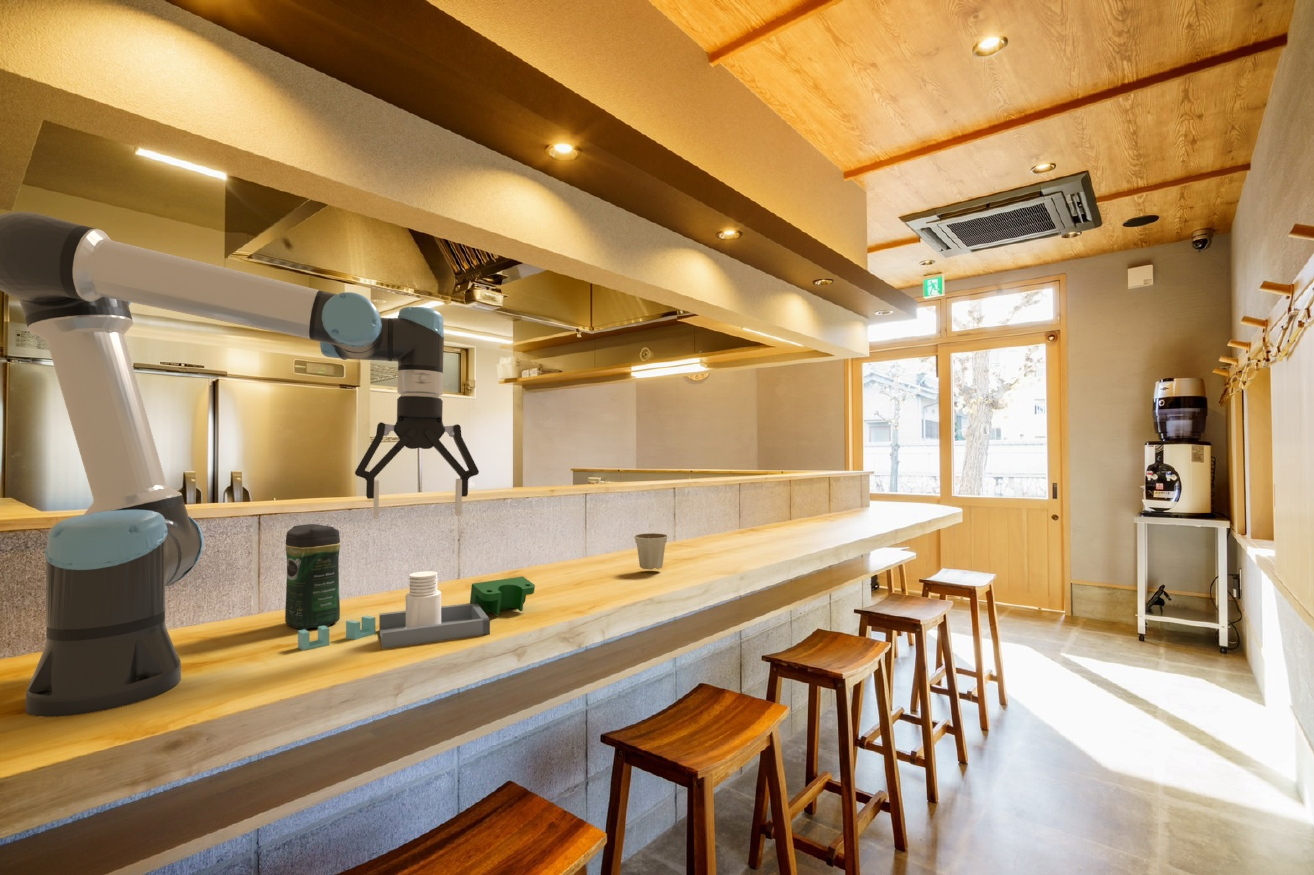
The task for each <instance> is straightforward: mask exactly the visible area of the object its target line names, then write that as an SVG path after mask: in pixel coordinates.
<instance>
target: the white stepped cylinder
mask: <svg viewBox="0 0 1314 875" xmlns="http://www.w3.org/2000/svg"><path fill="white" fill-rule="evenodd" d="M408 576H409V580H408V581H409V592H408V593H406V594H405V611H406V627H405V628H411V627H419V626H427V625H435V624H441V606H442V591H441V590H438V588H439V587H438V581H439V580H438V571H434V570H433V571H432V570H430V571H428V570H426V571H415V572H412V573H410V574H409V575H408Z"/></svg>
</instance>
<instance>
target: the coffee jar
mask: <svg viewBox="0 0 1314 875" xmlns="http://www.w3.org/2000/svg"><path fill="white" fill-rule="evenodd" d="M340 542H341V538H340V530H338V528H335V527H334V526H330V525H323V524H317V523H316V524H315V523H308V524H307V523H306V524H298V525H293V527H292V528H290V529H289V530H288V531H287V532H286V536H285V553H286V583H285V584H286V586H285V587H286V591H285V608H284V610H285V612H284V617H285V618H284V621H285V624H287V625H288V626H290V627H292V628H296V629H299V630H304V629H305V630H307V629H313V628H316V629H318V627H319V626H326V627H328V626H330V625H332V624H335V623H337V622H338V621H340V618H341V615H340V614H341V607H340V606H341V605H340V602H341V601H340V575H339V574H340V571H339V570H340V566H339V562H340V560H339V559H340V558H339V556H340V548H341V543H340Z"/></svg>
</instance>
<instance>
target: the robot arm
mask: <svg viewBox="0 0 1314 875" xmlns="http://www.w3.org/2000/svg"><path fill="white" fill-rule="evenodd" d="M0 291H1V292H3V293H5V294H7V295H10V296H11V297H14V298H16V299H18V300H19V302H20V306H21V310H22V313H23V317H24V319H25V320H24V321H25V324H26V328H27V330H28V332H29V333H31V334H33V335H35V336H37V337H39V338H41V339H43V340H44V341H46V343H47V347H48V349H49V353H50V357H51V360H52V363H53V367H54V370H55V373H56V376H57V380H58V383H59V387H60V390H61V394H62V397H63V401H64V404H65V408H66V411H67V414H68V417H69V421H70V424H71V427H72V431H73V435H74V437H75V441H76V444H77V449H78V452H79V455H80V459H81V461H82V465H83V469H84V473H85V475H86V479H87V482H88V486H89V489H90V493H91V496H92V499H93V500H92V504H91V505H89V507H88V509H86V511H85V512H84V514H80V515H76V516H72V517H69V518H65V519H63V520H61V521H59V522H57V523H55V524H54V525H53V526H52V527H51V528H50V530H49V532H48V534H47V545H46V547H45V550H44V555H45V556H44V557H45V561H46V562H45V563H46V564H45V565H46V567H45V568H46V570H45V572H46V574H45V575H46V577H45V579H46V582H45V583H46V585H45V586H46V591H45V596H46V598H45V599H46V606H45V608H46V616H45V617H46V618H45V619H46V620H45V622H46V626H45V627H46V630H45V632H46V636H45V637H46V641H45V647H44V649H43V651H42V654H41V656H40V659H39V660H38V664H37V666H36V668H35V670H34V672H33V675H32V677H31V678H30V682H29V685H28V687H27V689H26V692H25V713H27V714H28V715H30V714H31V715H30V716H32V715H35V716H34V717H39V716H41V718H42V716H43V718H53V717H54V718H55V717H56V718H58V717H71V716H77V715H78V716H79V715H84V714H85V715H86V714H92V713H97V712H104V711H108V709H109V710H113V709H119V708H122V707H126V706H130V705H132V704H136V703H140V702H143V701H146V700H149V699H151V698H154V697H156V696H159V695H161V694H163V693H165V692H167V691H169V690H172V689H173V688H175V687H176V686H177V685H178V684H179V683H180V682H181V680H182V663H181V660H180V657H179V655H178V653H177V650H176V647H175V646H174V643H173V641H172V638H171V636H170V634H169V632H168V629H167V626H166V587H170V586H172V585H174V584H175V583H177V582H179V581H180V580H181V579H183V578H184V577H186V576H187V575H188V574H190V572H191V571H192V570H193V568H195V566H196V565H197V563H198V562H199V560H200V558H201V556H202V553H203V551H204V545H205V541H204V540H205V539H204V534H203V533H204V532H203V531H202V529H201V527H200V525H199V523H198V522H196V520H194V519H193V518H192V517H191V516H189V514H188V511H187V508H186V505H185V501H184V497H183V494H182V492H180V491H178V490H176V489H173V488H171V487H170V486H169V485H167V481H166V478H165V475H164V471H163V468H162V465H161V461H160V457H159V453H158V450H157V446H156V444H155V443H156V442H155V439H154V435H153V432H152V428H151V425H150V422H149V418H148V414H147V410H146V409H145V404H144V400H143V398H142V395H141V394H142V393H141V391H140V390H141V389H140V387H139V384H138V380H137V377H136V372H135V369H134V367H133V366H134V365H133V362H132V359H131V356H130V352H129V349H128V345H127V340H126V338H125V334H126V333H127V332H128V331H129V330H130V328H131V327H132V326H133V325H134V320H133V317H132V313H131V310H130V307H129V306H130V305H131V303H133V304H138V305H143V306H146V307H151V308H152V307H153V308H155V309H156V308H157V309H162V310H167V311H171V312H177V313H180V314H181V313H182V314H185V315H189V316H190V315H191V316H196V317H201V318H205V319H211V320H215V321H221V322H226V323H230V324H235V325H239V326H243V327H245V326H246V327H248V328H255V329H261V330H263V331H268V332H273V333H278V334H285V335H289V336H294V337H298V338H303V339H308V340H311V341H316V342H319V347H320V352H321V354H322V355H323V356H324V357H327V358H333V359H334V358H335V359H341V360H343V361H345V360H346V361H347V360H364V361H379V362H380V361H381V362H383V361H385V362H397V390H396V392H397V393H398V394H399V395H400V396H398V398H397V400H396V403H397V404H396V421H395V424H389V423H384V422H383V421H382V422H378V424H377V427H376V433H375V434H376V435H375V436H374V438H373V439H372V442H371V443H370V445H369V447H368V448H367V450H366V452H365V454H364V455H363V457H362V459H361V461H360V463H359V464H358V466H357V468H356V469H355V471H354V474H355V475H356V477H360V478H362V479H364V480H365V481H366V486H365V487H366V490H365V492H366V494H365V496H366V498H367V500H368V499H369V500H372V499H373V503H372V504H373V505H372V506H373V510H372V511H373V514H372V515H373V517H372V518H373V520H377V519H378V520H379V506H380V505H379V504H380V503H379V499H380V498H379V497H380V496H379V495H380V493H379V492H380V480H379V479H375V478H376V476H378V475H379V473H381V471H383V470H384V469H385V468H386V467H387V465H388V464H389V463H390V462H391V461H392V460H393V459H394V458H395V457H396V456H397V455H398V454H399V452H400V451H402V450H403V449H404V448H405V447H406V448H407V449H409V450H413V449H414V450H416V449H421V450H422V449H423V450H430V449H432V448H434V449H435V450H436V451H437V452H438V453H439V454H440V456H441V457H442V458H443V459H444V460H445V461H446V463H448V465H449V466H450V467H451V468H452V469H453V470H454V471H455V473H456V474H457V475H458V476H459V478H455V498H454V500H455V503H454V510H455V511H454V512H455V513H454V515H455V516H457V517H461V516H462V514H463V513H462V512H463V511H462V506H463V505H462V504H463V502H462V501H463V500H462V499H463V497H467V496H468V495H469V479H470V478H472V477H474V476H477V475H479V472H480V470H479V469H478V466H477V464H476V462H475V461H474V459H473V457H472V455H471V452H470V450H469V448H468V446H467V445H466V442H465V441H464V439H463V437H462V430H461V429H462V427H461V426H460V425H459V424H453V425H446V426H445V425H444V422H443V403H444V402H443V400H442V398H441V396H442V395H443V392H444V391H443V390H444V389H443V386H444V385H443V384H444V382H443V381H444V377H443V376H444V352H445V351H444V348H445V347H444V345H445V334H444V330H445V329H444V318H443V315H442V313H440V312H439V311H437V310H436V309H434V308H429V307H423V306H405V307H402V308H401V309H399V312H398V315H397V317H381V315H380V312H379V311H378V309H377V307H376V306H375V305H374V303H373V302H372V301H371V300H370V299H369V298H368V297H366V296H364V295H362V294H359V293H358V292H350V291H349V292H340V293H334V292H330V291H325V290H324V291H323V290H320V289H316V288H312V287H307V286H304V285H299V284H295V283H291V282H287V281H283V280H279V279H275V278H270V277H265V276H262V275H258V274H253V273H250V272H245V271H240V270H237V269H234V268H233V269H232V268H229V267H224V266H220V265H216V264H212V263H207V262H204V261H200V260H194V259H190V258H187V257H182V256H179V255H174V254H169V253H166V252H161V251H159V250H154V249H150V248H149V249H148V248H145V247H141V246H136V245H132V244H128V243H124V242H119V241H115V240H112V239H111V238H110V237H109V235H107V233H106V232H105V231H103V230H102V229H99V228H95V227H91V226H88V225H82V224H79V223H75V222H73V221H72V222H71V221H68V220H65V219H60V218H57V217H53V216H50V215H45V214H42V213H37V212H31V211H30V212H29V211H15V212H14V211H13V212H7V213H1V214H0ZM391 432H394V434H395V435H396V436H397V437H398V439H399V440H398V441H397V442H396V443H395V444H394V445H393V446H392V447H391V448H390V449H389V450H388V452H387V453H386V454H384V455H383V457H382V458H381V459H380V460H379V461H378V462H377V463H376V464H375V466H373V467H372V468H371V470H370V471H367V470H366V469H367V468H368V465H369V464H370V462H371V460H372V459H373V457H374V455H375V454H376V451H377V450H378V448H379V446H380V445H381V443H382V441H383V439H384V437H387V436H389V434H390V433H391ZM445 433H447V435H448V436H449V437H451V438H453V440H454V441H453V442H454V443H455V445H456V447H457V450H458V451H459V454H460V455H461V457H462V459H463V462H464V463H465V465H466V467H467V470H465V468H464V467H463V466H462V465H461V464H460V463H459V461H458V460H457V459H456V458H455V456H453V455H452V453H450V451H449V450H448V449H447V447H446V446H445V444H444V443H442V441H441V440H440V439H441V438H442V437H443V436H444V434H445ZM103 710H104V711H103Z"/></svg>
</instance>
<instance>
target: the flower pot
mask: <svg viewBox="0 0 1314 875" xmlns="http://www.w3.org/2000/svg"><path fill="white" fill-rule="evenodd" d="M633 538H634V540H635V543H636V549H637V556H638V563H639V567H640V568H641V569H644V570H654V569H657V570H659V569H662V568H663V565H664V558H665V551H666V550H665V549H666V544H667V542H668V541H667V540H668V538H669V535H668V534H666V533H658V532H657V533H656V532H655V533H654V532H647V533H646V532H645V533H637V534H634V535H633Z"/></svg>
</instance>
